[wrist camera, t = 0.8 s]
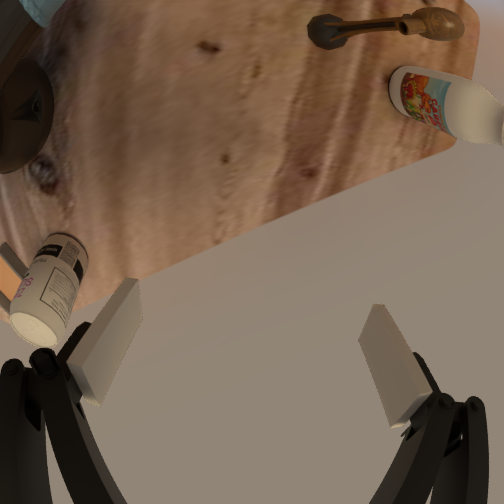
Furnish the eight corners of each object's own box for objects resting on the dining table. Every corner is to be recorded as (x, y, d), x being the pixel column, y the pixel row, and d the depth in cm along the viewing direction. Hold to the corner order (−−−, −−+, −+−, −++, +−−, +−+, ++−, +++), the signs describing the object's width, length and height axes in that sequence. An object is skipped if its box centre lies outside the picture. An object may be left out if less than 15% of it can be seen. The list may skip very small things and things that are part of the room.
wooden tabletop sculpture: (308, 55, 25) (435, 63, 9) (292, 22, 22) (410, -11, 7) (349, 44, 24) (485, 56, 9) (335, 12, 21) (467, -6, 6)
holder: (20, 312, 40) (16, 321, 38) (-21, 268, 32) (-26, 277, 30) (51, 294, 39) (47, 304, 37) (5, 241, 31) (-2, 251, 29)
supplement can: (84, 280, 39) (61, 358, 27) (42, 263, 35) (9, 336, 23) (93, 243, 35) (63, 325, 23) (46, 224, 31) (2, 299, 20)
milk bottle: (401, 54, 25) (527, 85, 9) (432, 86, 28) (543, 133, 13) (378, 95, 29) (502, 147, 13) (412, 124, 32) (519, 187, 16)
